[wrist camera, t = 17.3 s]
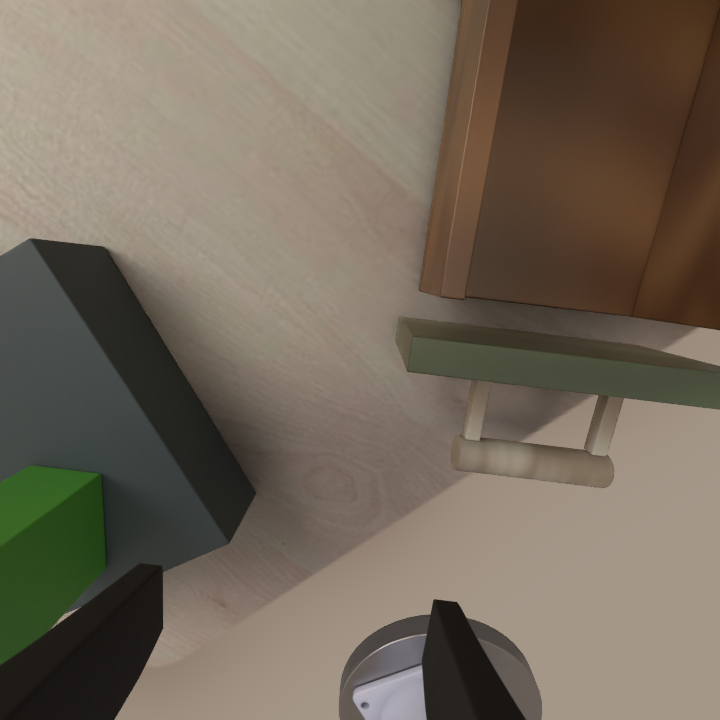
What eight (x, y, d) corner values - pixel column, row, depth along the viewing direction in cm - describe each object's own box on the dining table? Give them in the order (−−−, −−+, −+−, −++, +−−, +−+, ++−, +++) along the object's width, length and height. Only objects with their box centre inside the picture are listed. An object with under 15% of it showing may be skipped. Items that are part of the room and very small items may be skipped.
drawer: (607, 451, 18) (712, 528, 13) (383, 424, 18) (389, 489, 13) (775, -118, 13) (1076, -413, 8) (464, -153, 13) (533, -473, 8)
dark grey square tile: (256, 493, 21) (229, 544, 17) (74, 574, 22) (11, 637, 18) (104, 246, 18) (29, 237, 14) (-91, 359, 19) (-208, 379, 15)
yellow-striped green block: (107, 567, 17) (-14, 700, 12) (40, 559, 17) (-110, 687, 12) (102, 473, 16) (-33, 571, 11) (31, 464, 16) (-140, 558, 11)
